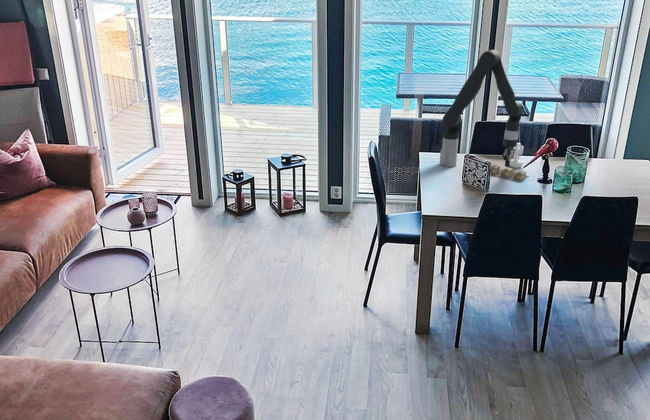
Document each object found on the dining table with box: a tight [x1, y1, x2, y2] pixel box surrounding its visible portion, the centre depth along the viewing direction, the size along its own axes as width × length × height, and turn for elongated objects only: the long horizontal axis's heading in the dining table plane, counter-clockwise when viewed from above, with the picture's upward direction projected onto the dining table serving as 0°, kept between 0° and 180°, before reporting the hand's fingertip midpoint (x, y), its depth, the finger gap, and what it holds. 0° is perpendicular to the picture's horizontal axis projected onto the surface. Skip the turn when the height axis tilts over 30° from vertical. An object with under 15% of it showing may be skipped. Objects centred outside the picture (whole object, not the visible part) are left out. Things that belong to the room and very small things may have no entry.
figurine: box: [509, 142, 525, 169], centre depth 371 cm, size 7×9×15 cm
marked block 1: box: [490, 163, 501, 174], centre depth 362 cm, size 5×5×4 cm
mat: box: [490, 169, 530, 183], centre depth 359 cm, size 22×14×1 cm, turn 50°
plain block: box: [500, 166, 514, 177], centre depth 358 cm, size 5×5×4 cm
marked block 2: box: [513, 169, 527, 181], centre depth 353 cm, size 5×5×4 cm
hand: (507, 166), depth 357 cm, fingers closed
